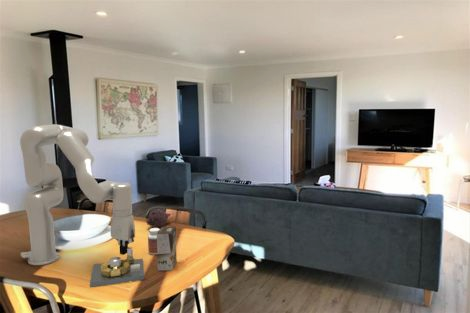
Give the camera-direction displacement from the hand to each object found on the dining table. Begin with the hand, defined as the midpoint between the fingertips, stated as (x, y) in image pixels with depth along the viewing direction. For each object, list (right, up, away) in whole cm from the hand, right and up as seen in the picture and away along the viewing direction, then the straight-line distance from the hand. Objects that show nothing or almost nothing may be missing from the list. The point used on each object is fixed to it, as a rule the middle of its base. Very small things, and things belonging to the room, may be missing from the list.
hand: (123, 253), depth 154 cm
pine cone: (+4, +2, +50) cm, 50 cm away
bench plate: (0, -6, -7) cm, 10 cm away
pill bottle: (+10, -4, +14) cm, 18 cm away
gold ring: (0, -4, -7) cm, 8 cm away
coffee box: (+19, -6, 0) cm, 19 cm away
